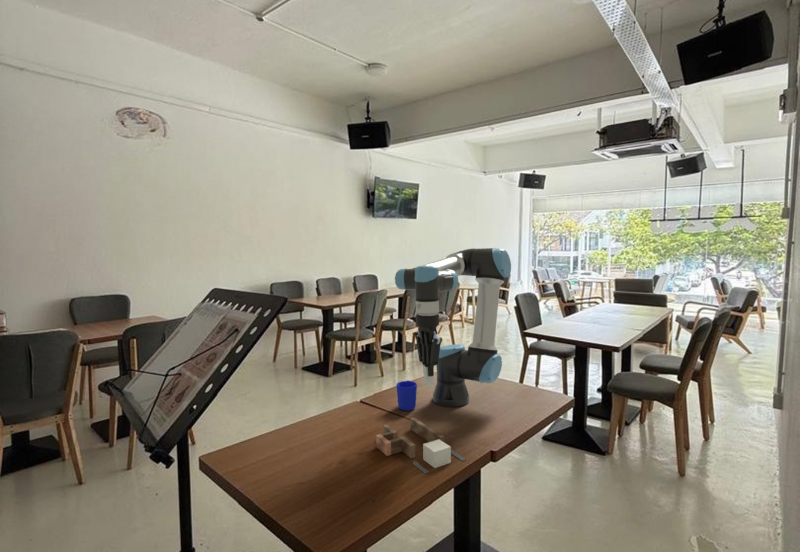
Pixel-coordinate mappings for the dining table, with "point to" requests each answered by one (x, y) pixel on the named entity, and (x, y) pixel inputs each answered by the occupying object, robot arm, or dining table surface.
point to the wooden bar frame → (404, 439)
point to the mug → (406, 395)
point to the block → (437, 453)
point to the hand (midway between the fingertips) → (428, 384)
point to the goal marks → (428, 471)
